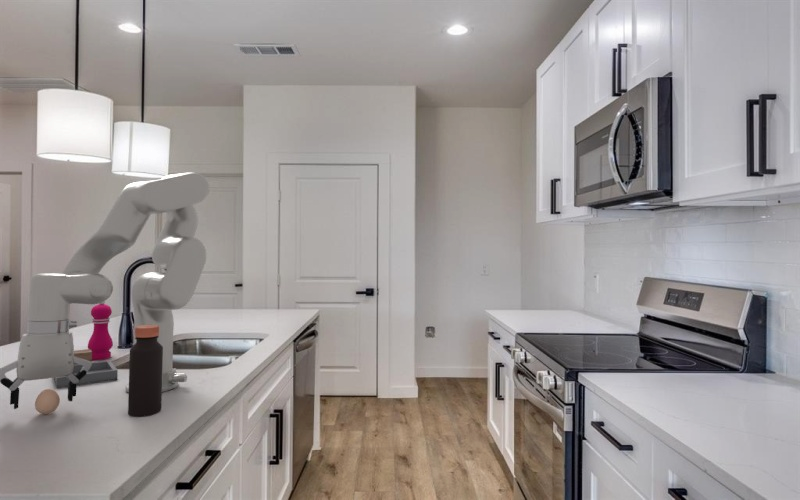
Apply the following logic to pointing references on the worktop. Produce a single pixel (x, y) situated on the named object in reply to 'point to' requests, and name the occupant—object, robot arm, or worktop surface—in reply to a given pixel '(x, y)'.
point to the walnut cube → (83, 354)
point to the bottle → (145, 372)
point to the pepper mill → (100, 332)
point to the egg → (47, 401)
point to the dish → (91, 374)
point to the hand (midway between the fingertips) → (43, 403)
